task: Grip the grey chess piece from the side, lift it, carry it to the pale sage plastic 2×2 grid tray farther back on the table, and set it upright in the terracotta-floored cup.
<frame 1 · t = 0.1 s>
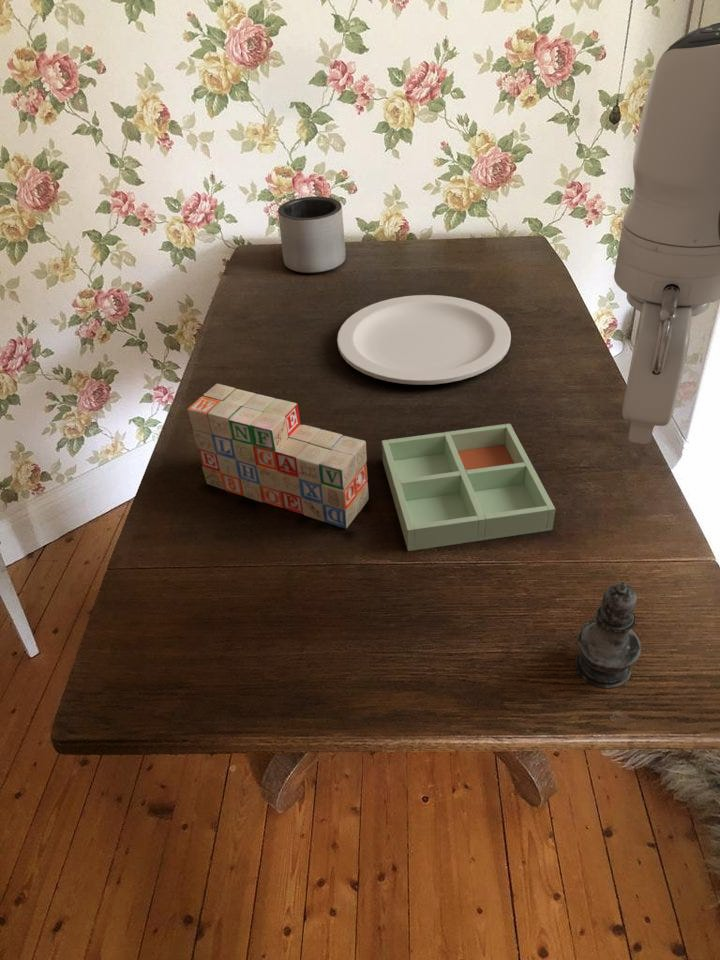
hand: (643, 408, 67), 23 cm above the table, tool pointing down, fingers open, 8 cm apart
grid: (462, 493, 95), on the table
planter: (315, 263, 152), on the table
stack of blocks: (286, 493, 97), on the table
grey chess piece: (602, 666, 74), on the table
plate: (423, 347, 124), on the table
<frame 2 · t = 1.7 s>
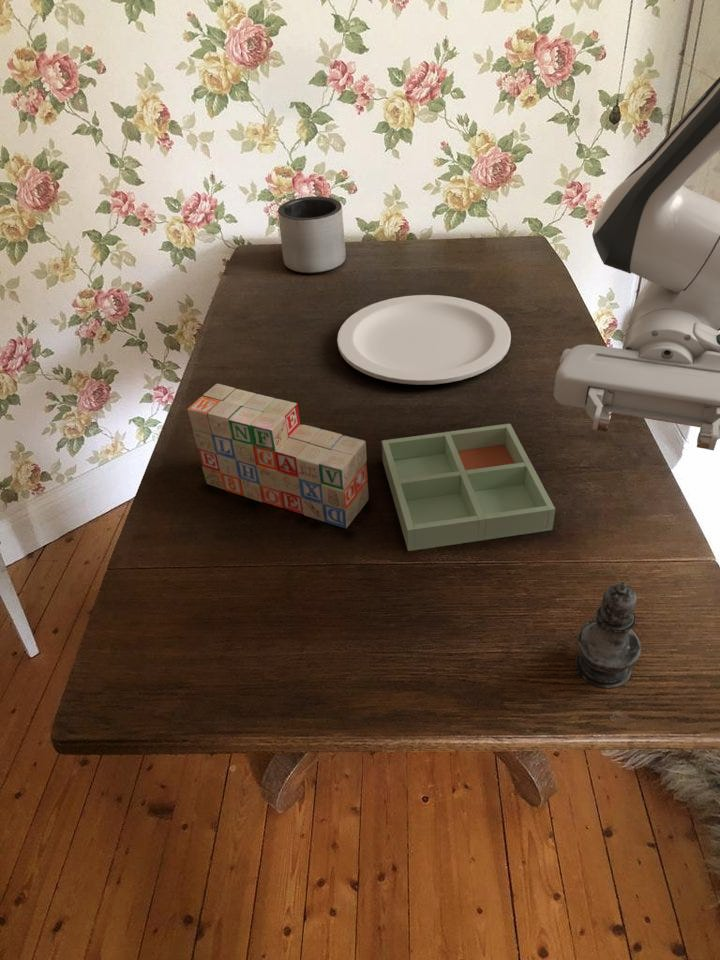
hand: (652, 434, 70), 20 cm above the table, tool horizontal, fingers open, 8 cm apart
nothing on the table moved.
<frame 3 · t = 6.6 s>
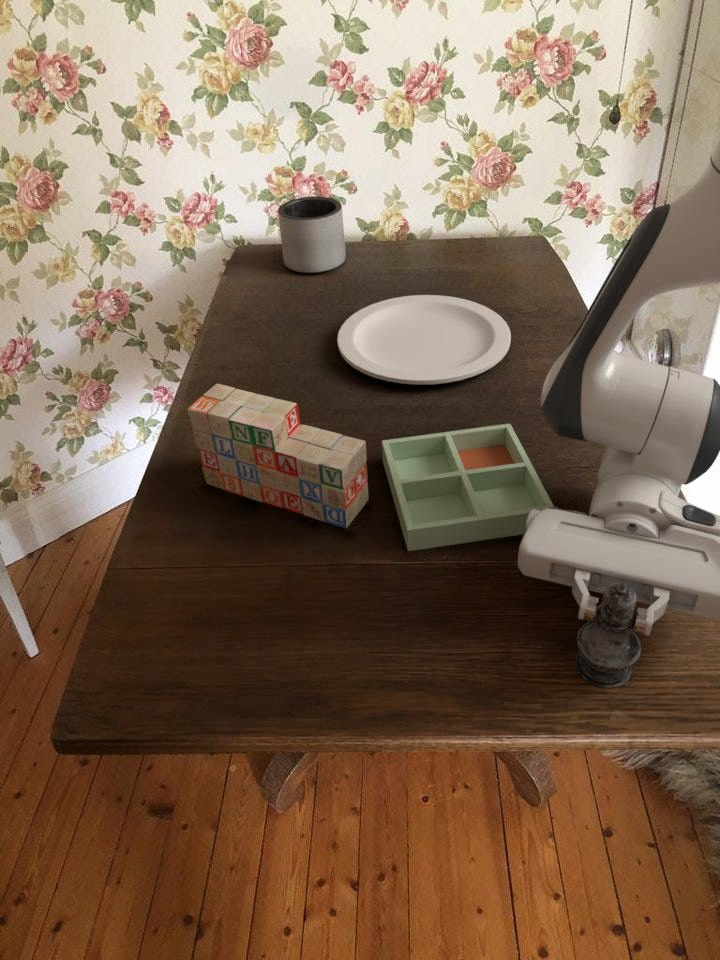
hand: (614, 623, 69), 8 cm above the table, tool horizontal, fingers closed on grey chess piece, 3 cm apart
grey chess piece: (602, 666, 74), on the table, touching gripper
everything else where it was.
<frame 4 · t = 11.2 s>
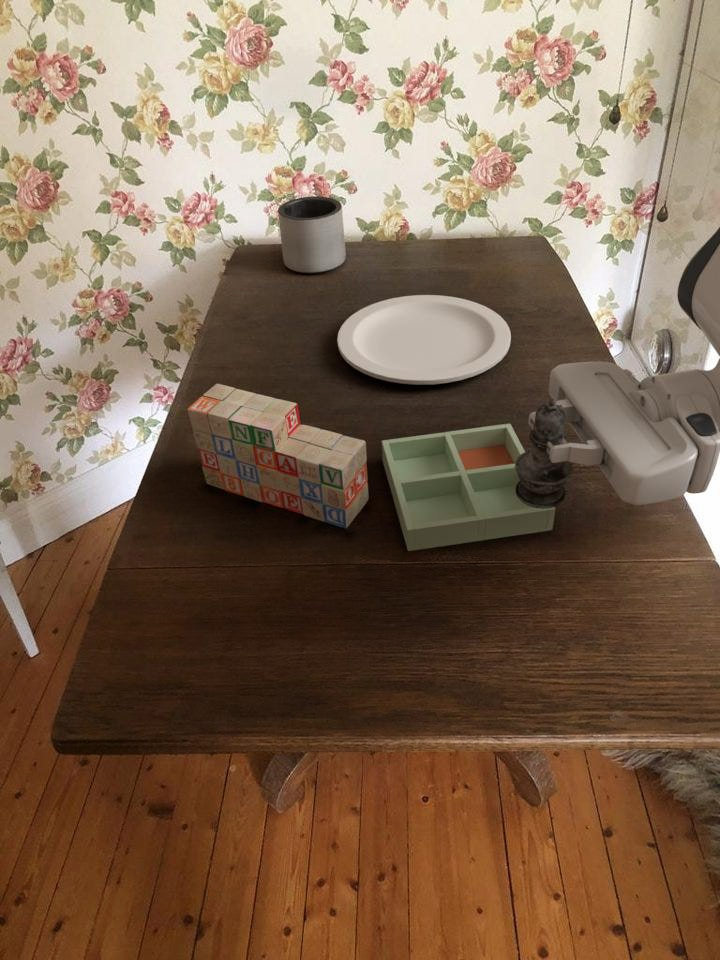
hand: (539, 437, 76), 17 cm above the table, tool horizontal, fingers closed on grey chess piece, 3 cm apart
grey chess piece: (540, 493, 81), point 9 cm above the table, touching gripper
everything else where it was.
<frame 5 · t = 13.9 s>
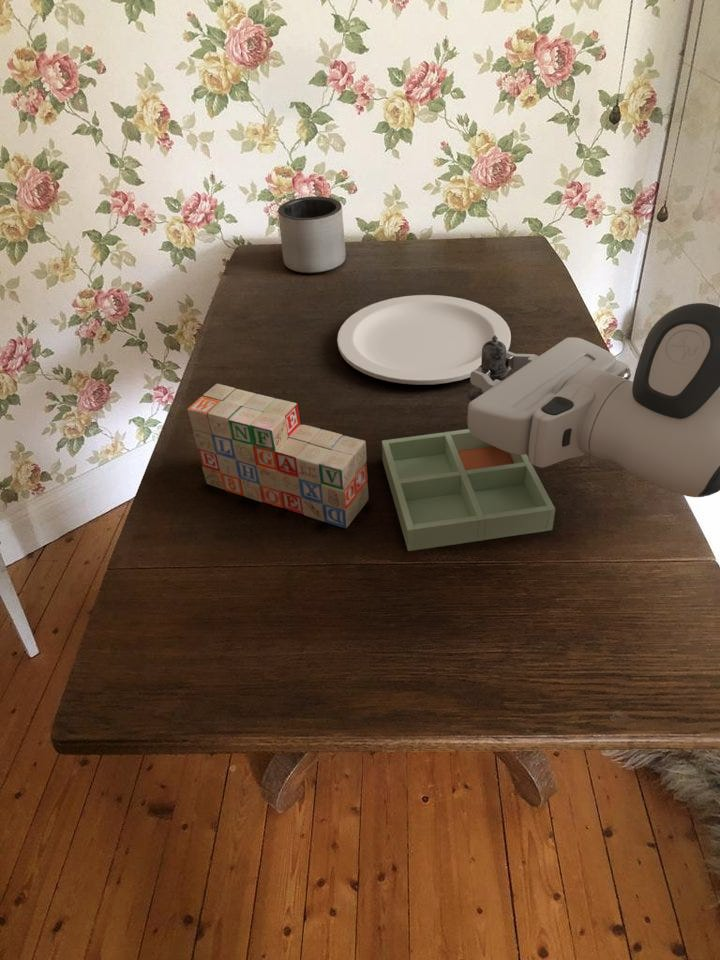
hand: (487, 366, 89), 15 cm above the table, tool horizontal, fingers closed on grey chess piece, 3 cm apart
grey chess piece: (489, 422, 94), point 7 cm above the table, touching gripper
everything else where it was.
when the fingers open (8 cm above the table, at t = 16.0 s): grey chess piece stays where it is, resting on grid.
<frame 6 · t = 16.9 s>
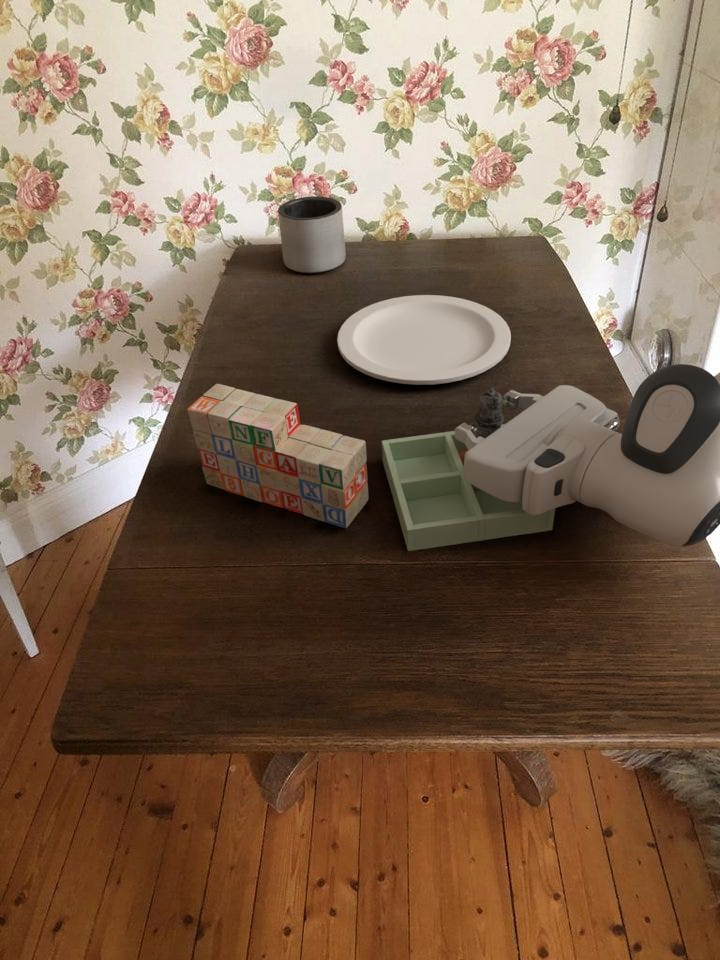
hand: (482, 413, 93), 8 cm above the table, tool horizontal, fingers open, 8 cm apart
grey chess piece: (486, 465, 98), resting on grid
everything else where it was.
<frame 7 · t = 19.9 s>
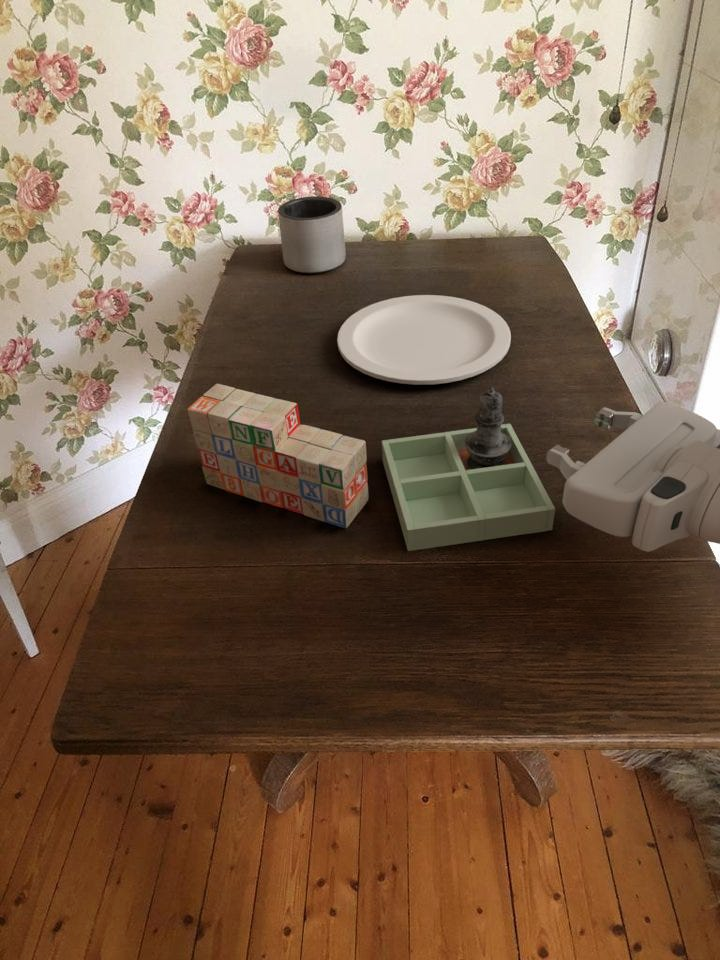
hand: (575, 433, 84), 12 cm above the table, tool horizontal, fingers open, 8 cm apart
nothing on the table moved.
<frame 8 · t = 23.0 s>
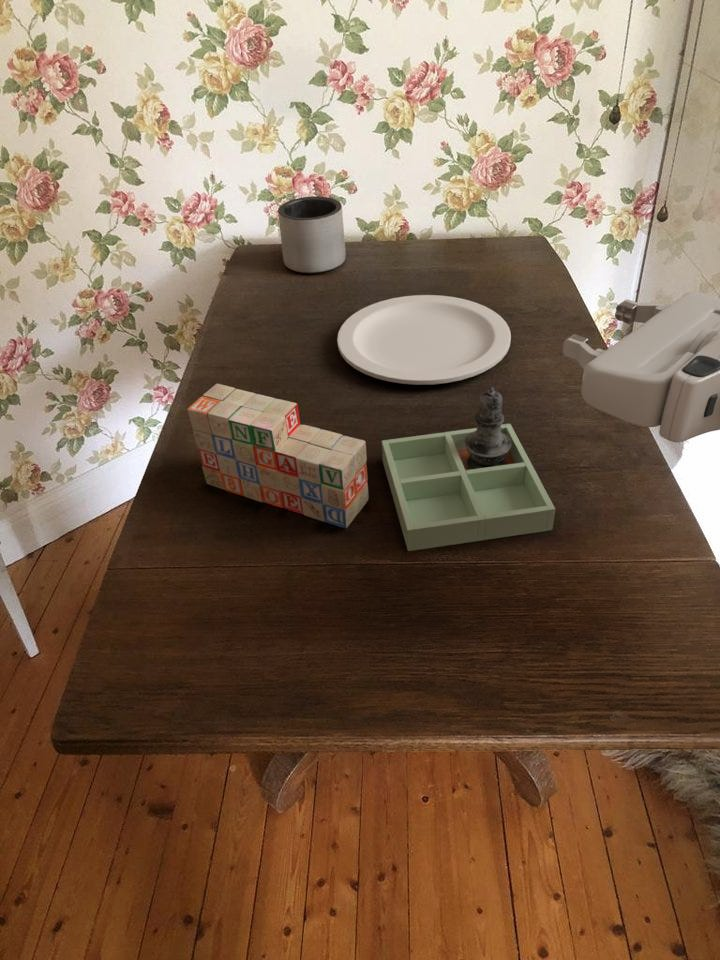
hand: (593, 325, 75), 25 cm above the table, tool horizontal, fingers open, 8 cm apart
nothing on the table moved.
at the end: grey chess piece 0.2 cm from the target spot in the grid, point 0.4 cm above the grid's base; grey chess piece tilted 0°; the gripper is holding nothing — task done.
